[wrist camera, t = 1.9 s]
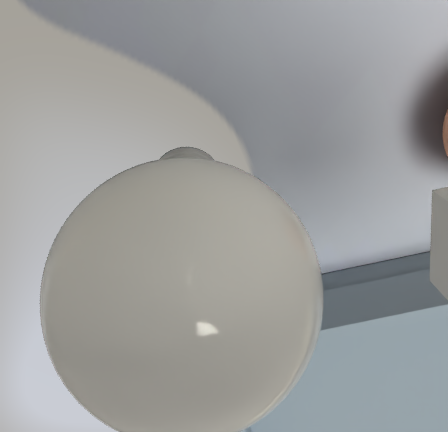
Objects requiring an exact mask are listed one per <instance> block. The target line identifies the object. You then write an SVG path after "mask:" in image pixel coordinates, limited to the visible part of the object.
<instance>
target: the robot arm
mask: <svg viewBox="0 0 448 432" xmlns="http://www.w3.org/2000/svg"><path fill="white" fill-rule="evenodd" d="M429 281H430V282H431V283H432V284H433V285H434V286H435V287H436V288H437V289H438V290H439V291H440V292H441V294H442V295H443V296H444V297H445V298H446V299H447V300H448V187H445V188H440V189H436V190H432V214H431V247H430V280H429Z"/></svg>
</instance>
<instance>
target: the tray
mask: <svg viewBox="0 0 448 432" xmlns="http://www.w3.org/2000/svg"><path fill="white" fill-rule="evenodd" d="M322 280H323V291H324V306H323V318H322V324H321V330H320V334H319V338H318V342H317V345H316V348H315V351H314V353H313V356H312V358H311V360H310V362H309V364H308V366H307V368H306V370H305V372H304V374H303V375H302V377H301V379H300V380H299V382H298V383H297V384H296V386H295V387H294V389H293V390H292V391H291V392H290V394H289V395H288V396H287V397H286V398H285V399H284V400H283V401H282V402H281V403H280V404H279V405H278V406H277V407H276V408H275V409H274V410H273V411H272V412H270V413H269V414H268V415H267V416H265V417H264V418H263V419H261V420H260V421H258V422H257V423H255V424H254V425H252V426H250V427H249V428H247V429H245V430H243V431H241V432H448V300H447V299H446V298H445V297H444V296H443V295H442V294H441V292H440V291H439V290H438V289H437V288H436V287H435V286H434V285H433V284H432V283H431V282H430V281H429V280H430V252H427V253H422V254H417V255H412V256H407V257H403V258H398V259H393V260H388V261H384V262H379V263H374V264H369V265H364V266H360V267H355V268H350V269H345V270H341V271H336V272H331V273H326V274H322Z"/></svg>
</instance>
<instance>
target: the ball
mask: <svg viewBox="0 0 448 432" xmlns="http://www.w3.org/2000/svg"><path fill="white" fill-rule="evenodd" d="M443 142H444V148H445V151H446V154H447V157H448V110H447V112H446V115H445V119H444V123H443Z"/></svg>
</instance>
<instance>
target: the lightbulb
mask: <svg viewBox="0 0 448 432" xmlns="http://www.w3.org/2000/svg"><path fill="white" fill-rule="evenodd" d="M323 306H324V291H323V280H322V274H321V269H320V264H319V261H318V257H317V254H316V251H315V248H314V245H313V243H312V241H311V238H310V236H309V234H308V232H307V230H306V229H305V227H304V225H303V223H302V222H301V220H300V219H299V217H298V216H297V215H296V213H295V212H294V210H293V209H292V208H291V207H290V206H289V205H288V203H287V202H286V201H285V200H284V199H283V198H282V197H281V196H280V195H279V194H278V193H277V192H275V191H274V190H273V189H272V188H271V187H269V186H268V185H267V184H265V183H264V182H262V181H261V180H259V179H258V178H256V177H255V176H253V175H251V174H249V173H247V172H245V171H243V170H241V169H239V168H236V167H234V166H231V165H228V164H225V163H222V162H218V161H215V160H214V159H213V158H212V157H211V156H210V155H208V154H207V153H206V152H204V151H202V150H200V149H197V148H193V147H180V148H176V149H173V150H171V151H169V152H167V153H165V154H164V155H163V156H162V157H161V158H160V159H159V160H156V161H151V162H147V163H144V164H141V165H138V166H135V167H132V168H130V169H127V170H125V171H123V172H121V173H119V174H117V175H115V176H114V177H112V178H110V179H109V180H107V181H106V182H104V183H103V184H101V185H100V186H99V187H97V188H96V189H95V190H94V191H92V192H91V193H90V194H89V195H88V196H87V197H86V198H85V199H84V200H83V201H82V202H81V203H80V204H79V205H78V206H77V207H76V208H75V210H74V211H73V212H72V213H71V214H70V216H69V217H68V218H67V220H66V221H65V223H64V225H63V226H62V227H61V229H60V231H59V233H58V234H57V236H56V238H55V240H54V242H53V245H52V247H51V249H50V252H49V254H48V257H47V260H46V264H45V268H44V272H43V277H42V283H41V292H40V316H41V325H42V331H43V336H44V341H45V344H46V347H47V351H48V354H49V356H50V358H51V361H52V363H53V366H54V368H55V370H56V372H57V374H58V375H59V377H60V379H61V380H62V382H63V384H64V385H65V386H66V388H67V389H68V391H69V392H70V393H71V394H72V396H73V397H74V398H75V399H76V400H77V401H78V402H79V403H80V404H81V405H82V406H83V407H84V408H85V409H86V410H87V411H88V412H90V414H92V415H93V416H94V417H96V418H97V419H98V420H100V421H101V422H102V423H104V424H105V425H107V426H109V427H111V428H113V429H114V430H116V431H118V432H241V431H243V430H245V429H247V428H249V427H250V426H252V425H254V424H255V423H257V422H258V421H260V420H261V419H263V418H264V417H265V416H267V415H268V414H269V413H270V412H272V411H273V410H274V409H275V408H276V407H277V406H278V405H279V404H280V403H281V402H282V401H283V400H284V399H285V398H286V397H287V396H288V395H289V394H290V392H291V391H292V390H293V389H294V387H295V386H296V384H297V383H298V382H299V380H300V379H301V377H302V375H303V374H304V372H305V370H306V368H307V366H308V364H309V362H310V360H311V358H312V356H313V353H314V351H315V348H316V345H317V342H318V338H319V334H320V330H321V324H322V318H323Z"/></svg>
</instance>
